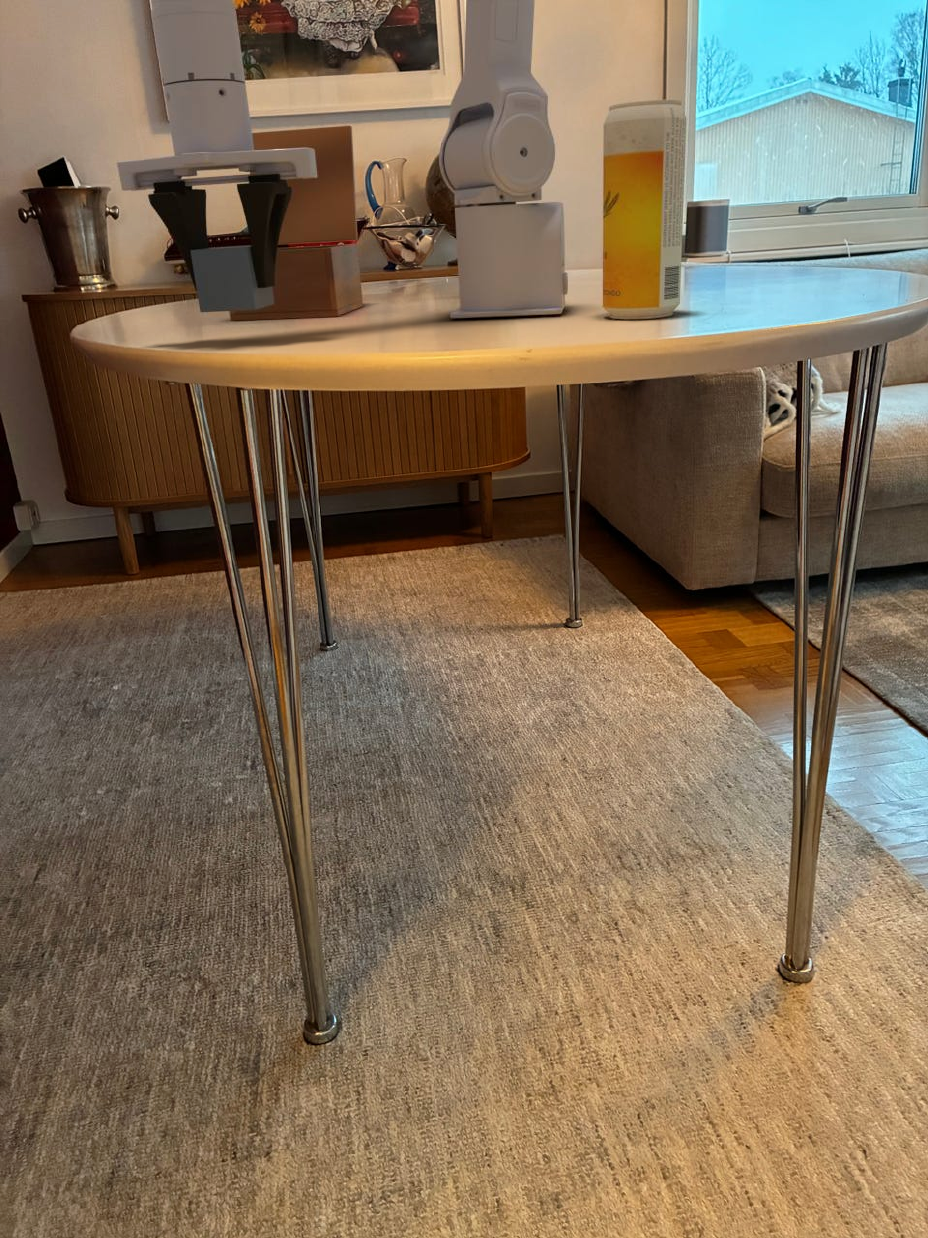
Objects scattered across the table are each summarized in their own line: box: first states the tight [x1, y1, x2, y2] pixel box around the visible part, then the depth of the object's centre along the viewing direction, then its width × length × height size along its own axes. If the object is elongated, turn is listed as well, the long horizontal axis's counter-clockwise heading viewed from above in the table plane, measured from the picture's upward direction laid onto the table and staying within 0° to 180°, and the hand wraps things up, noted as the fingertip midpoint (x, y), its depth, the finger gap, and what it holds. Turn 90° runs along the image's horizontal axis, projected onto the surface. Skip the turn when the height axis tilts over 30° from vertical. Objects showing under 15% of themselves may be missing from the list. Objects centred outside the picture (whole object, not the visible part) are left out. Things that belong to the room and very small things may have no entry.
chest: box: [228, 243, 364, 322], centre depth 92 cm, size 10×11×6 cm
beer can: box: [602, 99, 688, 320], centre depth 72 cm, size 6×6×15 cm
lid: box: [249, 125, 359, 246], centre depth 94 cm, size 11×11×1 cm
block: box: [191, 244, 274, 313], centre depth 71 cm, size 4×4×4 cm
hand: (234, 288), depth 71 cm, fingers closed on block, 4 cm apart
